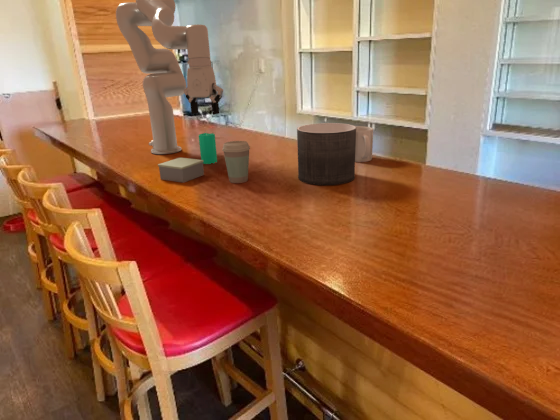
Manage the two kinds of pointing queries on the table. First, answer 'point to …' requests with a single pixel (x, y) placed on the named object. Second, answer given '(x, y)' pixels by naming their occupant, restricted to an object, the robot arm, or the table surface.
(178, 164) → the pedestal
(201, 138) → the candle
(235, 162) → the coffee cup
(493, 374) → the table surface
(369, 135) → the mug
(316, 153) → the planter
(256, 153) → the table surface
